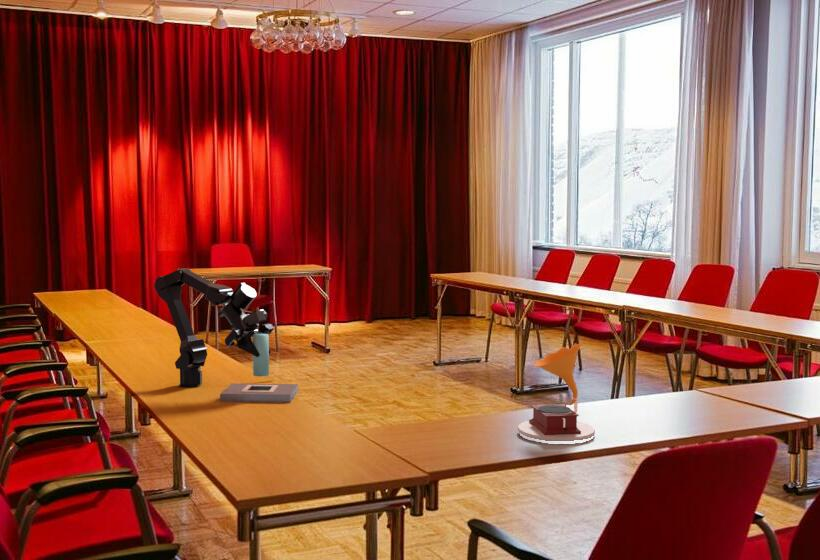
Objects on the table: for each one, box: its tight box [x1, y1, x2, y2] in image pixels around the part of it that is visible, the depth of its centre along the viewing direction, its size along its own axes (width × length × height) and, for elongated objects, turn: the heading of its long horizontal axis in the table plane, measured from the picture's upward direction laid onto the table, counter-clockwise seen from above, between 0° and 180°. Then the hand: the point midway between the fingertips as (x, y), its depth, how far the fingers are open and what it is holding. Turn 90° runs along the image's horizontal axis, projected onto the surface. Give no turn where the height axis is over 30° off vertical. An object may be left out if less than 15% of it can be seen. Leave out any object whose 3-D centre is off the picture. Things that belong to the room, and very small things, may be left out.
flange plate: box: [219, 382, 299, 403], centre depth 290 cm, size 22×16×3 cm
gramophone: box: [517, 342, 596, 441], centre depth 243 cm, size 20×20×25 cm
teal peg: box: [252, 334, 270, 377], centre depth 289 cm, size 5×5×13 cm
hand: (264, 355), depth 289 cm, fingers closed on teal peg, 5 cm apart
